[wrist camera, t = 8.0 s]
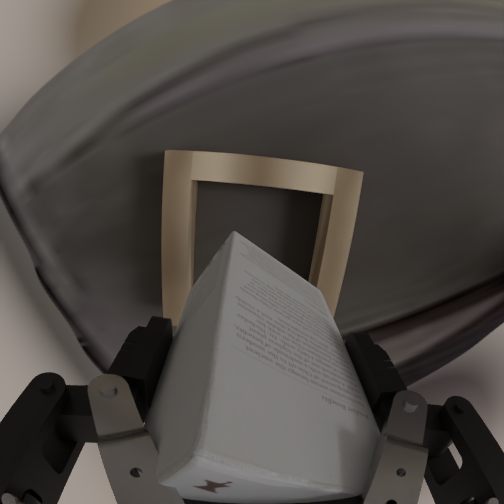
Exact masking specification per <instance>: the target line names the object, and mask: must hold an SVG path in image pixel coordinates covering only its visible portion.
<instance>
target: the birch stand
mask: <svg viewBox="0 0 504 504" xmlns="http://www.w3.org/2000/svg"><path fill="white" fill-rule="evenodd" d="M362 178H363V172H361V171H357V170H353V169H348V168H342V167H336V166H330V165H324V164H318V163H311V162H304V161H297V160H290V159H282V158H274V157H265V156H255V155H245V154H234V153H221V152H207V151H189V150H165V159H164V175H163V196H162V240H161V256H162V300H163V318H170V319H171V320H172V326H177V325H178V323H179V320H180V317H181V314H182V311H183V309H184V306H185V304H186V301H187V298H188V295H189V293H190V290H191V288H192V287H193V271H194V242H195V221H196V204H197V188H198V180H202V181H215V182H227V183H239V184H249V185H259V186H268V187H277V188H286V189H294V190H302V191H309V192H317V193H323V197H322V204H321V210H320V217H319V223H318V229H317V235H316V241H315V247H314V252H313V258H312V263H311V269H310V274H309V279H308V282H309V283H310V284H312V285H313V286H315V287H316V288H318V289H319V290H320V291H321V293H322V295H323V297H324V299H325V301H326V303H327V306H328V308H329V310H330V313H331V315H332V317H334V314H335V310H336V306H337V302H338V298H339V294H340V290H341V286H342V282H343V278H344V273H345V269H346V264H347V260H348V255H349V250H350V246H351V241H352V236H353V231H354V225H355V220H356V215H357V209H358V203H359V197H360V191H361V184H362Z"/></svg>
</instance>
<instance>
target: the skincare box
mask: <svg viewBox="0 0 504 504" xmlns="http://www.w3.org/2000/svg"><path fill="white" fill-rule="evenodd" d="M144 427H145V429H147V431H148V432H149V434H150V437H151V439H152V441H153V443H154V445H155V448H156V450H157V452H158V454H159V457H158V462H157V467H156V479H157V481H158V483H159V484H162V485H164V486H169V487H175V488H176V489H177V491H178V492H179V494H180V496H181V498H183V499H191V500H199V501H209V502H221V503H241V504H283V503H306V502H319V501H328V500H336V499H343V498H350V497H354V496H358V495H361V494H362V493H363V490H364V488H365V486H366V483H367V481H368V478H369V475H370V472H371V469H370V465H371V461H372V457H373V453H374V450H375V447H376V445H377V443H378V440H379V437H380V431H379V428H378V426H377V423H376V420H375V418H374V416H373V413H372V410H371V407H370V405H369V403H368V400H367V398H366V395H365V393H364V390H363V388H362V385H361V383H360V380H359V378H358V375H357V373H356V370H355V368H354V365H353V363H352V361H351V358H350V356H349V354H348V351H347V349H346V347H345V344H344V342H343V340H342V337H341V335H340V333H339V331H338V328H337V326H336V324H335V322H334V319H333V317H332V315H331V313H330V310H329V308H328V306H327V303H326V301H325V299H324V297H323V295H322V293H321V291H320V290H319V289H318V288H316V287H315V286H313V285H312V284H310V283H309V282H308V281H306V280H305V279H303V278H302V277H300V276H299V275H298V274H296V273H295V272H293V271H292V270H290V269H289V268H288V267H286V266H285V265H283V264H282V263H280V262H279V261H278V260H276V259H275V258H273V257H272V256H270V255H269V254H268V253H266V252H265V251H263V250H262V249H260V248H259V247H257V246H256V245H254V244H253V243H252V242H250V241H249V240H247V239H246V238H244V237H243V236H241V235H240V234H239V233H237V232H236V231H233V232H232V233H231V234H230V236H229V237H228V238H227V240H226V241H225V242H224V244H223V245H222V246H221V248H220V249H219V250H218V252H217V253H216V254H215V256H214V257H213V258H212V260H211V261H210V263H209V264H208V266H207V267H206V269H205V270H204V271H203V273H202V274H201V276H200V277H199V279H198V280H197V281H196V283H195V284H194V285H193V287H192V288H191V290H190V293H189V295H188V298H187V301H186V304H185V306H184V309H183V311H182V314H181V317H180V320H179V323H178V325H177V328H176V331H175V334H174V337H173V340H172V343H171V346H170V349H169V351H168V354H167V357H166V360H165V363H164V366H163V369H162V372H161V375H160V378H159V381H158V384H157V387H156V391H155V393H154V396H153V399H152V402H151V405H150V409H149V412H148V415H147V418H146V422H145V425H144Z"/></svg>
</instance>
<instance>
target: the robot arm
mask: <svg viewBox="0 0 504 504" xmlns="http://www.w3.org/2000/svg"><path fill="white" fill-rule="evenodd" d="M172 340H173V336H172V320H171V319H170V318H163V317H156V316H152V317H151V319H150V321H149V323H148V325H147V327H140V326H139V327H137V328H136V329H134V330H133V331H132V332H130V333H129V335H128V337H127V338H126V340H125V343H124V344H123V345H122V347H121V350H120V351H119V352H118V354H117V356H116V358H115V359H114V361H113V363H112V365H111V367H110V368H109V370H108V372H107V374H103V375H100V376H97V377H96V378H94V379H93V380H92V381H91V382H90V383H89V385H85V386H77V385H66V384H65V381H64V379H63V378H62V377H61V376H60V375H58V374H56V373H51V372H49V373H42V374H39V375H38V376H36V377H35V378H34V379H33V380H32V381H31V382H30V383H29V385H28V386H27V387H26V389H25V390H24V391H23V392H22V394H21V395H20V396H19V398H18V399H17V400H16V402H15V403H14V404H13V406H12V407H11V408H10V410H9V411H8V413H7V414H6V415H5V417H4V418H3V420H2V421H1V422H0V504H57V503H58V501H59V498H60V496H61V493H62V491H63V489H64V487H65V485H66V482H67V480H68V478H69V476H70V474H71V471H72V469H73V467H74V465H75V463H76V461H77V458H78V457H79V454H80V452H81V450H82V448H83V446H84V444H85V442H92V443H97V444H98V448H99V451H100V455H101V458H102V461H103V464H104V468H105V470H106V474H107V477H108V479H109V482H110V485H111V488H112V491H113V493H114V496H115V498H116V501H117V503H118V504H241V503H221V502H209V501H199V500H191V499H183V498H181V496H180V494H179V492H178V491H177V489H176V488H175V487H169V486H164V485H162V484H159V483H158V481H157V479H156V467H157V462H158V457H159V454H158V452H157V450H156V448H155V445H154V443H153V441H152V439H151V437H150V434H149V432H148V431H147V429H145V427H144V425H143V423H144V422H146V418H147V415H148V412H149V409H150V405H151V402H152V399H153V396H154V393H155V391H156V387H157V384H158V381H159V378H160V375H161V372H162V369H163V366H164V363H165V360H166V357H167V354H168V351H169V349H170V346H171V343H172ZM345 347H346V349H347V351H348V354H349V356H350V358H351V361H352V363H353V365H354V368H355V370H356V373H357V375H358V378H359V380H360V383H361V385H362V388H363V390H364V393H365V395H366V398H367V400H368V403H369V405H370V407H371V410H372V413H373V416H374V418H375V420H376V423H377V426H378V428H379V431H380V437H379V440H378V443H377V445H376V447H375V450H374V453H373V457H372V461H371V465H370V469H371V472H370V475H369V478H368V481H367V483H366V486H365V488H364V490H363V493H362V494H361V495H358V496H354V497H350V498H343V499H336V500H328V501H319V502H306V503H283V504H417V502H418V499H419V495H420V491H421V487H422V482H423V478H425V480H426V483H427V485H428V487H429V489H430V492H431V494H432V497H433V499H434V501H435V504H504V452H503V451H502V449H501V448H500V446H499V444H498V443H497V441H496V440H495V438H494V437H493V435H492V434H491V432H490V431H489V429H488V428H487V426H486V425H485V423H484V422H483V420H482V419H481V417H480V416H479V415H478V413H477V411H476V410H475V409H474V407H473V406H472V404H471V403H470V402H469V401H468V400H466V399H465V398H463V397H460V396H452V397H450V398H448V399H447V401H446V402H445V404H444V405H443V406H440V405H430V404H427V402H426V401H425V399H424V398H423V397H422V396H421V395H420V394H418V393H416V392H414V391H410V390H407V388H406V386H405V384H404V382H403V381H402V379H401V377H400V375H399V374H398V372H397V370H396V368H394V365H393V363H392V362H391V360H390V358H389V356H388V354H387V353H386V351H384V350H383V349H382V348H381V347H380V346H379V345H374V343H373V341H372V340H371V338H370V336H369V335H368V333H349V334H348V336H347V339H346V342H345ZM452 443H454V445H455V446H456V448H457V450H458V452H459V454H460V455H461V457H462V466H461V468H460V469H459V467H458V465H457V463H456V461H455V460H454V458H453V456H452V454H451V452H450V450H449V448H448V447H449V446H450V445H451V444H452Z"/></svg>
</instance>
